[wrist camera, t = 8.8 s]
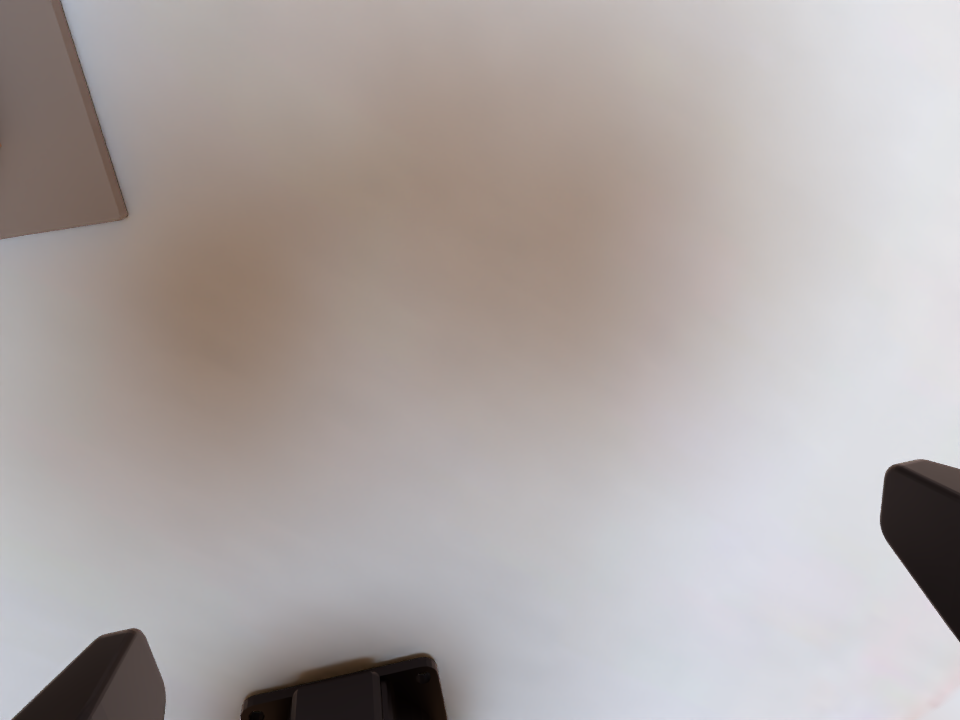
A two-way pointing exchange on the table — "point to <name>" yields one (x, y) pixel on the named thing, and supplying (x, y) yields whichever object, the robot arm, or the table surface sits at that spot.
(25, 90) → the mat
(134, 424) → the table surface
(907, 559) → the robot arm
